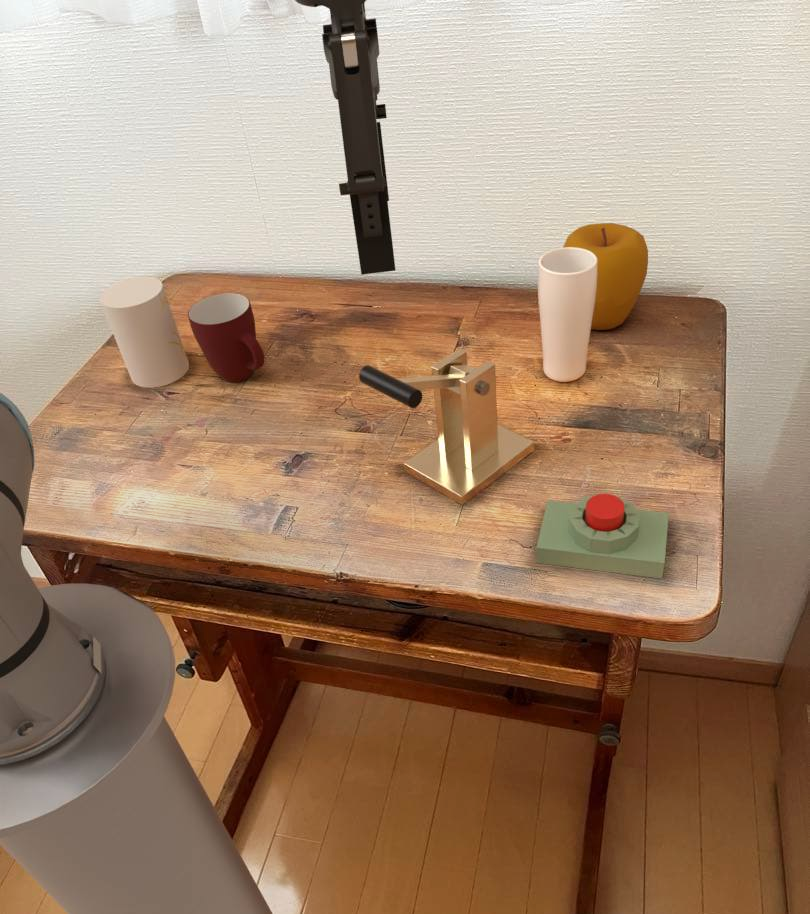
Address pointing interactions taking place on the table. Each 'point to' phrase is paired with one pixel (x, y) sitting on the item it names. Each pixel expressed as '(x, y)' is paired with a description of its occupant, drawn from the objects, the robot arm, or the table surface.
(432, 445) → the power switch
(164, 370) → the cup
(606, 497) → the stop button
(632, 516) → the control pad
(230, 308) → the mug
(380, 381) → the lever
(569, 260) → the drinking glass
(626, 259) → the apple
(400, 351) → the table surface
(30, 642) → the robot arm
